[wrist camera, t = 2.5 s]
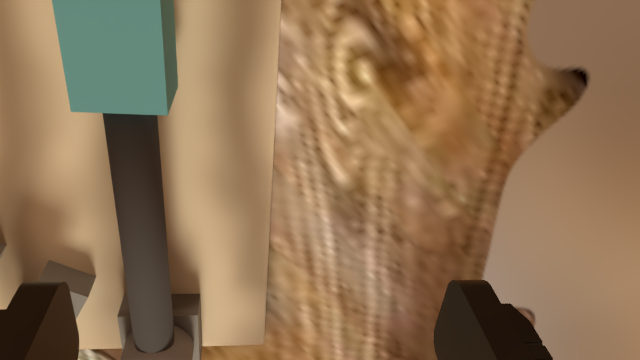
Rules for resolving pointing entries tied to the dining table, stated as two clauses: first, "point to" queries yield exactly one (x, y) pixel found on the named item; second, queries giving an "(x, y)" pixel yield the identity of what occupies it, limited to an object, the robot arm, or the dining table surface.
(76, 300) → the clip
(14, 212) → the board
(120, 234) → the cable arm
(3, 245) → the clip
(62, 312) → the robot arm
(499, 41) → the dining table surface
